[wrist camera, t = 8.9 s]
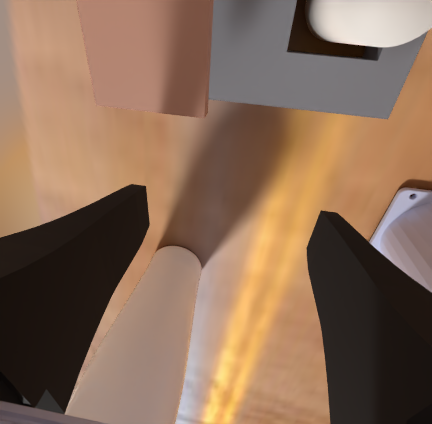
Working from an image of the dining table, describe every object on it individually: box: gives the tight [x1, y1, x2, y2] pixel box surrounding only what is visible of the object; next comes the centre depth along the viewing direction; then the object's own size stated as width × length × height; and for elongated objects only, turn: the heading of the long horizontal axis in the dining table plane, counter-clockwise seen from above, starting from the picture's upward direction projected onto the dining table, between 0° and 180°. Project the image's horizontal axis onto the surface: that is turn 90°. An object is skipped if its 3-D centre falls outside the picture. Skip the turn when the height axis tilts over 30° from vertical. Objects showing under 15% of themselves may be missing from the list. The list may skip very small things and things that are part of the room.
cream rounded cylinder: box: [65, 246, 202, 424], centre depth 21 cm, size 7×7×15 cm
